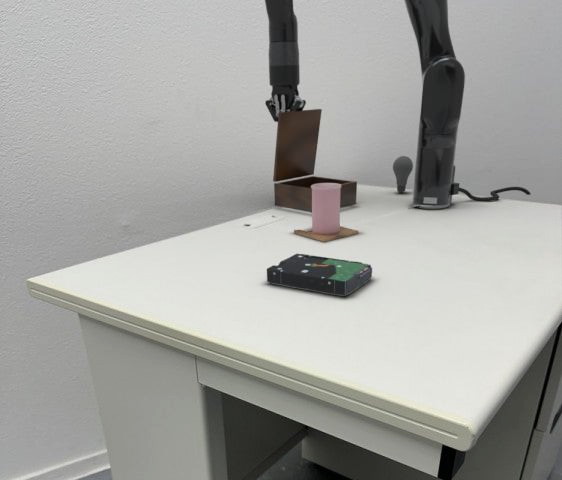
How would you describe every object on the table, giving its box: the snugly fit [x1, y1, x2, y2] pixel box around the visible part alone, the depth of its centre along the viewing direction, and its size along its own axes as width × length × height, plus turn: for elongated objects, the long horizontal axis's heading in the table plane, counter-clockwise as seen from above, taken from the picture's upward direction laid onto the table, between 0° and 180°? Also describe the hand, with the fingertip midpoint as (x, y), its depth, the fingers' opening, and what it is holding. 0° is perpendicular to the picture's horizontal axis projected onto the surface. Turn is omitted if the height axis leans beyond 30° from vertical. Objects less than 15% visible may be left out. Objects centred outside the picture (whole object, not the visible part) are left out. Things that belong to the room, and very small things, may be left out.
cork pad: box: [293, 226, 359, 243], centre depth 119 cm, size 10×10×1 cm
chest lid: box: [272, 108, 323, 183], centre depth 140 cm, size 16×15×1 cm
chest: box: [273, 175, 358, 213], centre depth 142 cm, size 16×15×6 cm
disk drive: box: [266, 253, 373, 297], centre depth 91 cm, size 10×3×15 cm
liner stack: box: [311, 183, 341, 234], centre depth 117 cm, size 6×6×10 cm
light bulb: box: [392, 155, 414, 194], centre depth 154 cm, size 6×6×10 cm
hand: (286, 140), depth 142 cm, fingers closed
